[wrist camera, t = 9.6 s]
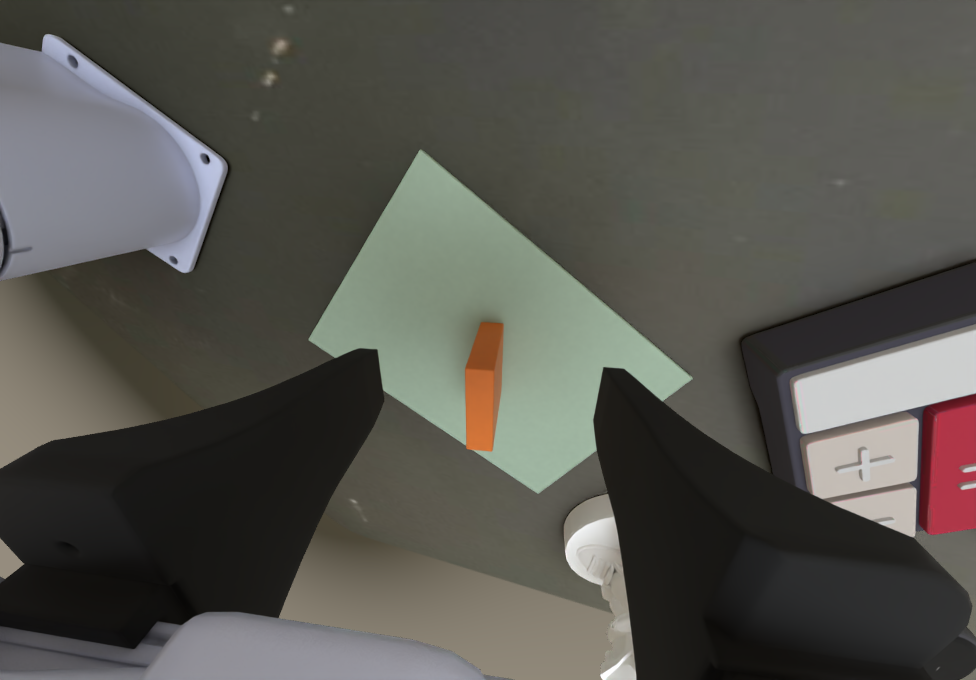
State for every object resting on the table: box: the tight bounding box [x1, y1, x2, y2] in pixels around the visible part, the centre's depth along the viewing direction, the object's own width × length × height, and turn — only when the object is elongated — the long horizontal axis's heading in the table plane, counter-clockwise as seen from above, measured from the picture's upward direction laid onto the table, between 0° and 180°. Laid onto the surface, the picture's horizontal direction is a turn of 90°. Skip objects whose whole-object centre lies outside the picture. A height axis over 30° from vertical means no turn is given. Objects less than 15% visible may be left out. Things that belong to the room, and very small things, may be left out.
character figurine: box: [564, 494, 637, 680], centre depth 23 cm, size 9×10×12 cm
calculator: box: [742, 262, 976, 537], centre depth 20 cm, size 11×4×15 cm
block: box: [465, 322, 504, 452], centre depth 20 cm, size 1×5×6 cm, turn 179°
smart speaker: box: [923, 627, 976, 680], centre depth 27 cm, size 9×9×4 cm
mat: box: [308, 150, 692, 493], centre depth 23 cm, size 20×14×1 cm
